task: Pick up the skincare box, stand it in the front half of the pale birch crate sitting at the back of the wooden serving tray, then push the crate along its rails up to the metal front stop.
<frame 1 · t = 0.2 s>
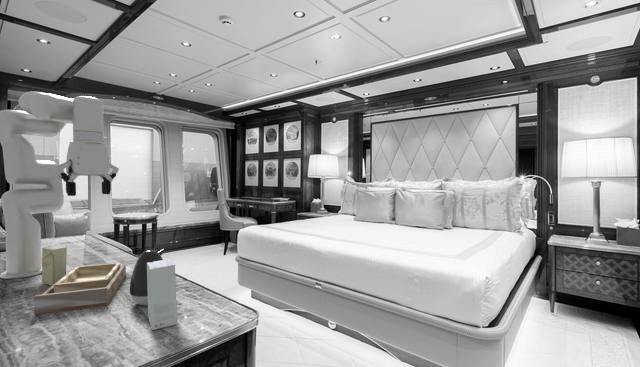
hand: (89, 194, 96), 31 cm above the table, tool pointing down, fingers open, 9 cm apart
skincare box: (54, 283, 107), on the table
black penguin figurine: (150, 302, 91), on the table
skincare box 2: (161, 322, 79), on the table
birch crate: (91, 278, 102), point 3 cm above the table, slide at 0.0 cm
wooden serving tray: (87, 292, 98), on the table
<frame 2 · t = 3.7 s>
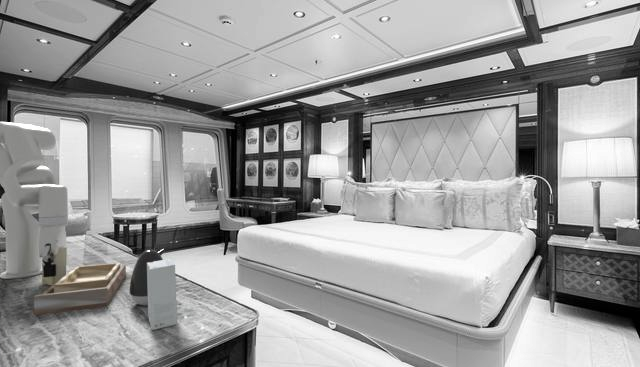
hand: (54, 272, 107), 3 cm above the table, tool pointing down, fingers closed on skincare box, 7 cm apart
skincare box: (54, 283, 107), on the table, touching gripper
everything else where it was.
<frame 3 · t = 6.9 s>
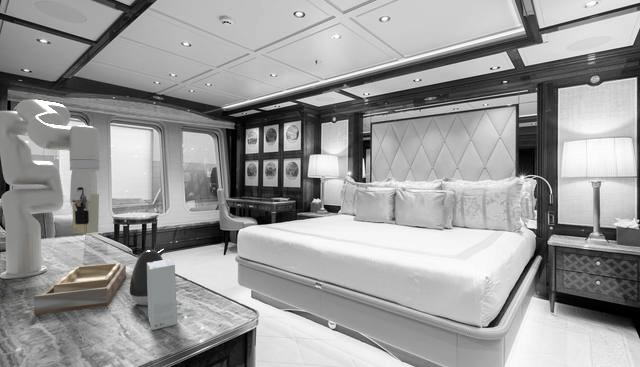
hand: (86, 221, 98), 22 cm above the table, tool pointing down, fingers closed on skincare box, 7 cm apart
skincare box: (86, 232, 99), point 19 cm above the table, touching gripper
everything else where it was.
when the fingers open (6 cm above the table, at t = 10.5 s): skincare box stays where it is, resting on birch crate.
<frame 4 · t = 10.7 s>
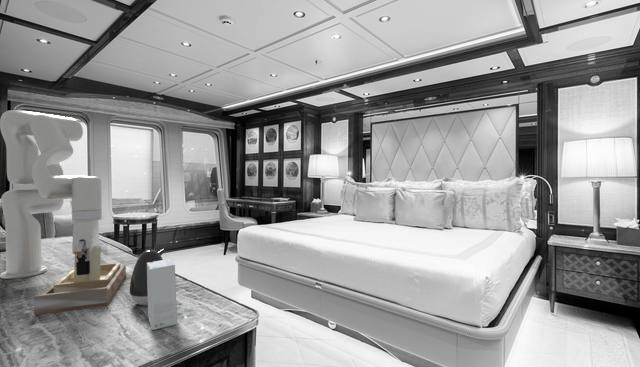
hand: (87, 270, 99), 7 cm above the table, tool pointing down, fingers open, 8 cm apart
skincare box: (87, 285, 99), point 2 cm above the table, touching birch crate
birch crate: (91, 278, 102), point 3 cm above the table, slide at 0.0 cm, touching skincare box
everything else where it was.
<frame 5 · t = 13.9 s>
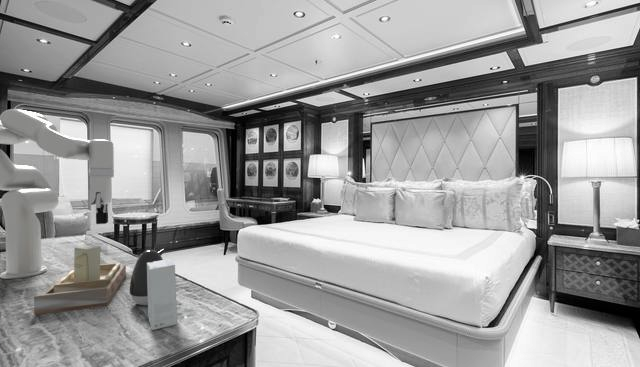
hand: (102, 223, 115), 19 cm above the table, tool pointing down, fingers closed
nothing on the table moved.
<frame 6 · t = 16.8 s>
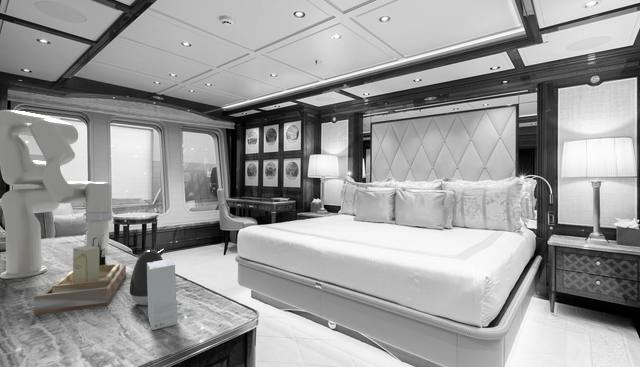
hand: (99, 268, 111), 4 cm above the table, tool pointing down, fingers closed
skincare box: (86, 286, 98), point 2 cm above the table, touching birch crate
birch crate: (90, 279, 101), point 3 cm above the table, slide at 1.2 cm, touching skincare box, gripper
everything else where it was.
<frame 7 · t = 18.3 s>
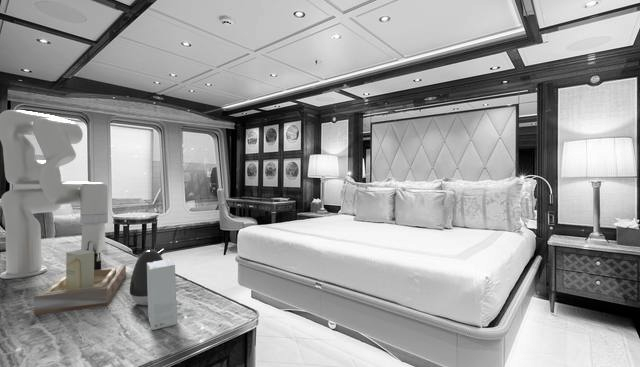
hand: (95, 272, 106), 4 cm above the table, tool pointing down, fingers closed
skincare box: (80, 293, 92), point 2 cm above the table, touching birch crate
birch crate: (84, 285, 95), point 3 cm above the table, slide at 7.1 cm, touching skincare box, gripper
everything else where it was.
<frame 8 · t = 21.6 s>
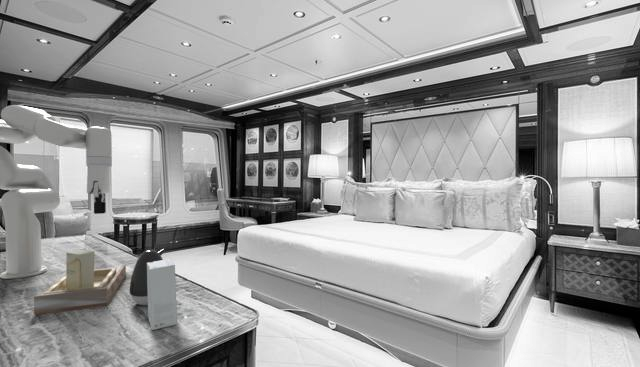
hand: (99, 213, 112), 23 cm above the table, tool pointing down, fingers closed
birch crate: (84, 285, 95), point 3 cm above the table, slide at 7.0 cm, touching skincare box
everything else where it was.
at the end: birch crate slide at 7.0 cm; skincare box inside the target area on the wooden serving tray (0.2 cm from its centre), point 1.9 cm above the wooden serving tray's base; skincare box tilted 0° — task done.
